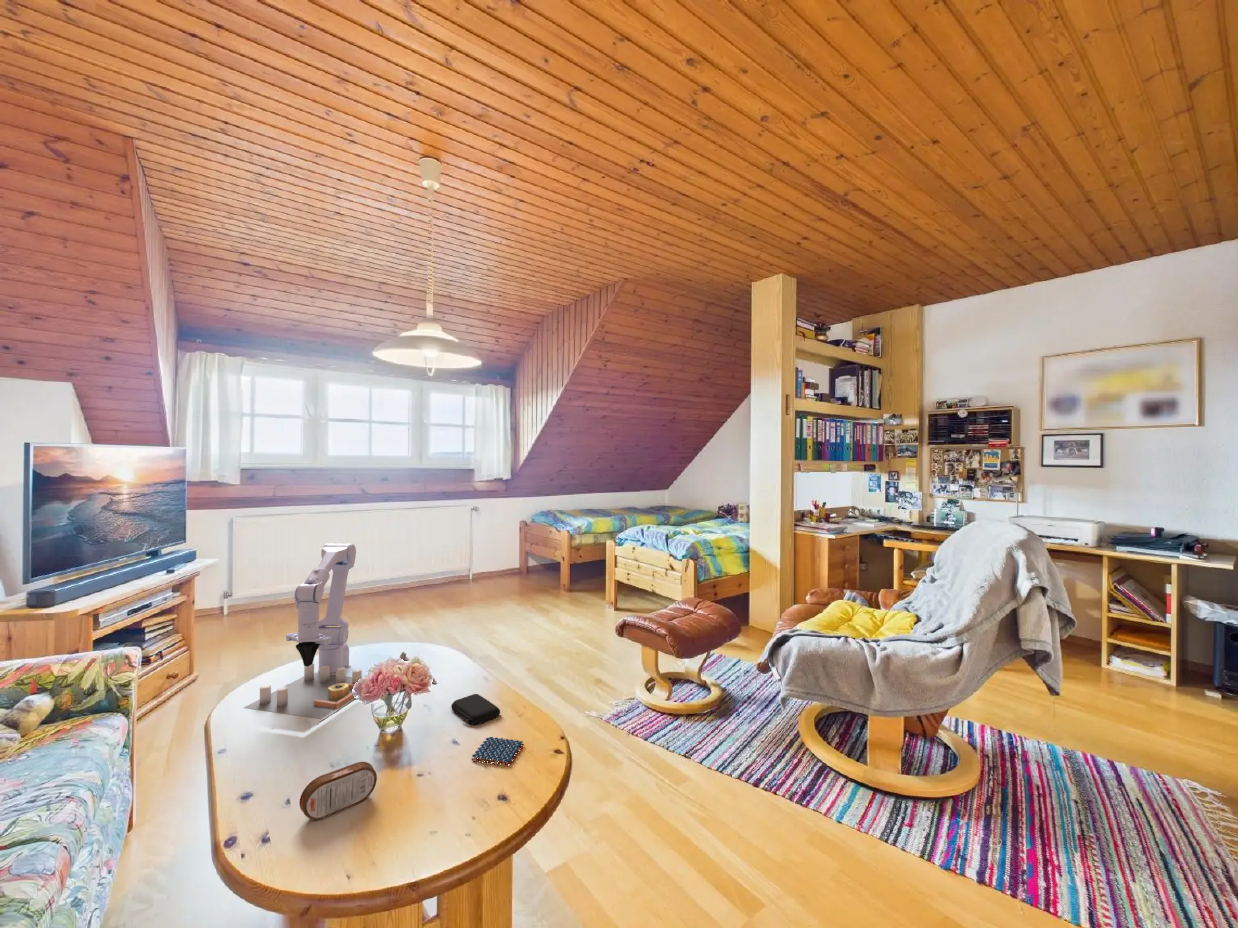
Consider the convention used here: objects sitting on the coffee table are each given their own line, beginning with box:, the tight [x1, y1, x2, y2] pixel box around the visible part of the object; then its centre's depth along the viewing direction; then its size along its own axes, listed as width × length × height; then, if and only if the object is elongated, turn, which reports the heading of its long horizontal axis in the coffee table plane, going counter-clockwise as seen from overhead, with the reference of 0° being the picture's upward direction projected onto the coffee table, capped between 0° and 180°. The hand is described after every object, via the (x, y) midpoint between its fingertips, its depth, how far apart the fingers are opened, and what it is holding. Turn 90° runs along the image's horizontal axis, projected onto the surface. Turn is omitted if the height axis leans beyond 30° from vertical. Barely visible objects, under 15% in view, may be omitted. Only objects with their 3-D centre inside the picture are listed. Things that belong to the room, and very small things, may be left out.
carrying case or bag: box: [450, 693, 501, 726], centre depth 159 cm, size 11×3×15 cm
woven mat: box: [471, 736, 525, 766], centre depth 138 cm, size 10×11×2 cm
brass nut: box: [328, 683, 349, 701], centre depth 165 cm, size 6×5×3 cm
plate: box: [243, 663, 363, 723], centre depth 167 cm, size 26×26×6 cm
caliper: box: [399, 651, 437, 685], centre depth 184 cm, size 20×1×6 cm, turn 55°
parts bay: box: [314, 683, 355, 709], centre depth 165 cm, size 13×8×1 cm, turn 168°
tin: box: [298, 761, 378, 821], centre depth 116 cm, size 15×3×8 cm, turn 135°
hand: (308, 665), depth 168 cm, fingers closed
